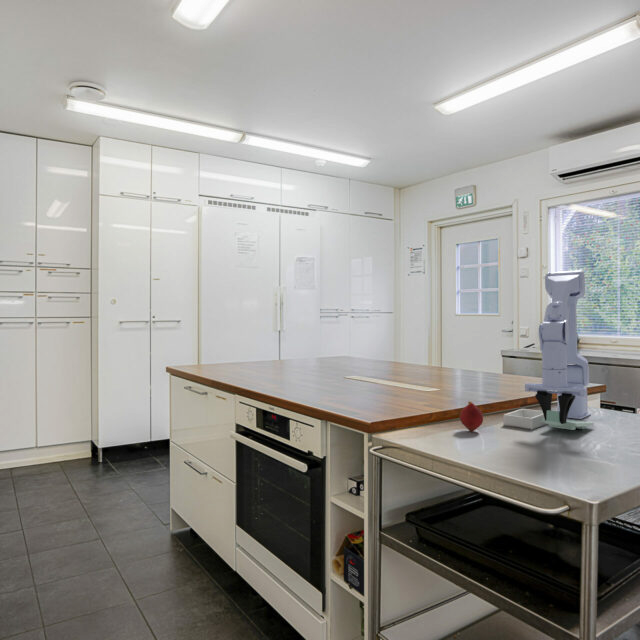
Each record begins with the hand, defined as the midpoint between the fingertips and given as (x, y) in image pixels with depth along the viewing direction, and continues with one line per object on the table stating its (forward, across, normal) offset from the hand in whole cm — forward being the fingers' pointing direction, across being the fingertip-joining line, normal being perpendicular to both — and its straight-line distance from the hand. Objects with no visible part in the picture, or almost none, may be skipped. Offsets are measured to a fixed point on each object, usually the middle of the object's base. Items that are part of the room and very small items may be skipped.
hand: (555, 422), depth 124 cm
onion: (+4, -18, -10) cm, 21 cm away
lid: (+2, 0, +6) cm, 6 cm away
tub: (+3, -11, +8) cm, 14 cm away
